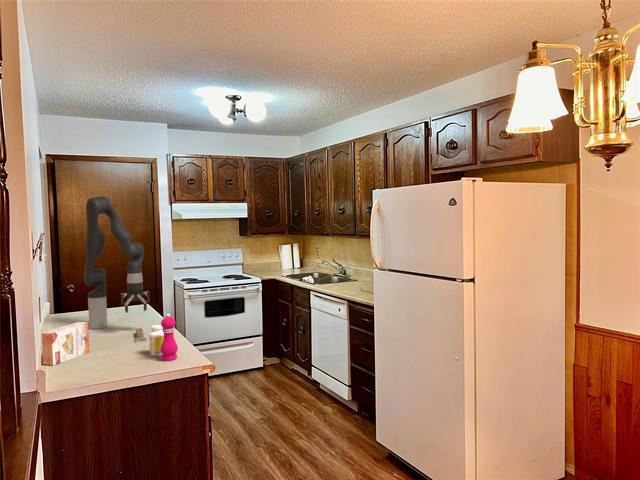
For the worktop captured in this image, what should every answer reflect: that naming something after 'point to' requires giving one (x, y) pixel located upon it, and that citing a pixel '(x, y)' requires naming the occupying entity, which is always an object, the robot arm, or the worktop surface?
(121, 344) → the worktop surface
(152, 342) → the supplement bottle
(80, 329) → the cracker box
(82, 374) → the worktop surface
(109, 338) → the worktop surface
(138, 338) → the tan flat bar
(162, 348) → the pepper mill
